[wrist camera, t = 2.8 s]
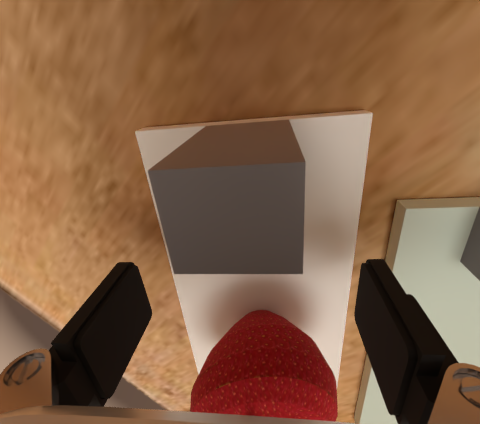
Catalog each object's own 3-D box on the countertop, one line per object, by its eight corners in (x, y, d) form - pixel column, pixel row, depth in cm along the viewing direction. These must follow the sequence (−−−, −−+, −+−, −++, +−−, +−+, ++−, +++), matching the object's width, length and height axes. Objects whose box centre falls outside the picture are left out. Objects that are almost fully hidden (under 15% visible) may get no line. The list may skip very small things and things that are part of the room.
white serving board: (144, 127, 13) (21, 177, 6) (364, 110, 11) (478, 152, 5) (206, 379, 22) (179, 501, 15) (332, 386, 20) (359, 523, 14)
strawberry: (335, 311, 17) (419, 566, 8) (247, 358, 19) (235, 591, 10) (276, 251, 15) (298, 485, 6) (189, 311, 18) (116, 539, 9)
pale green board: (397, 199, 13) (444, 246, 9) (614, 192, 12) (763, 243, 8) (353, 418, 22) (369, 484, 18) (473, 426, 21) (515, 499, 17)
